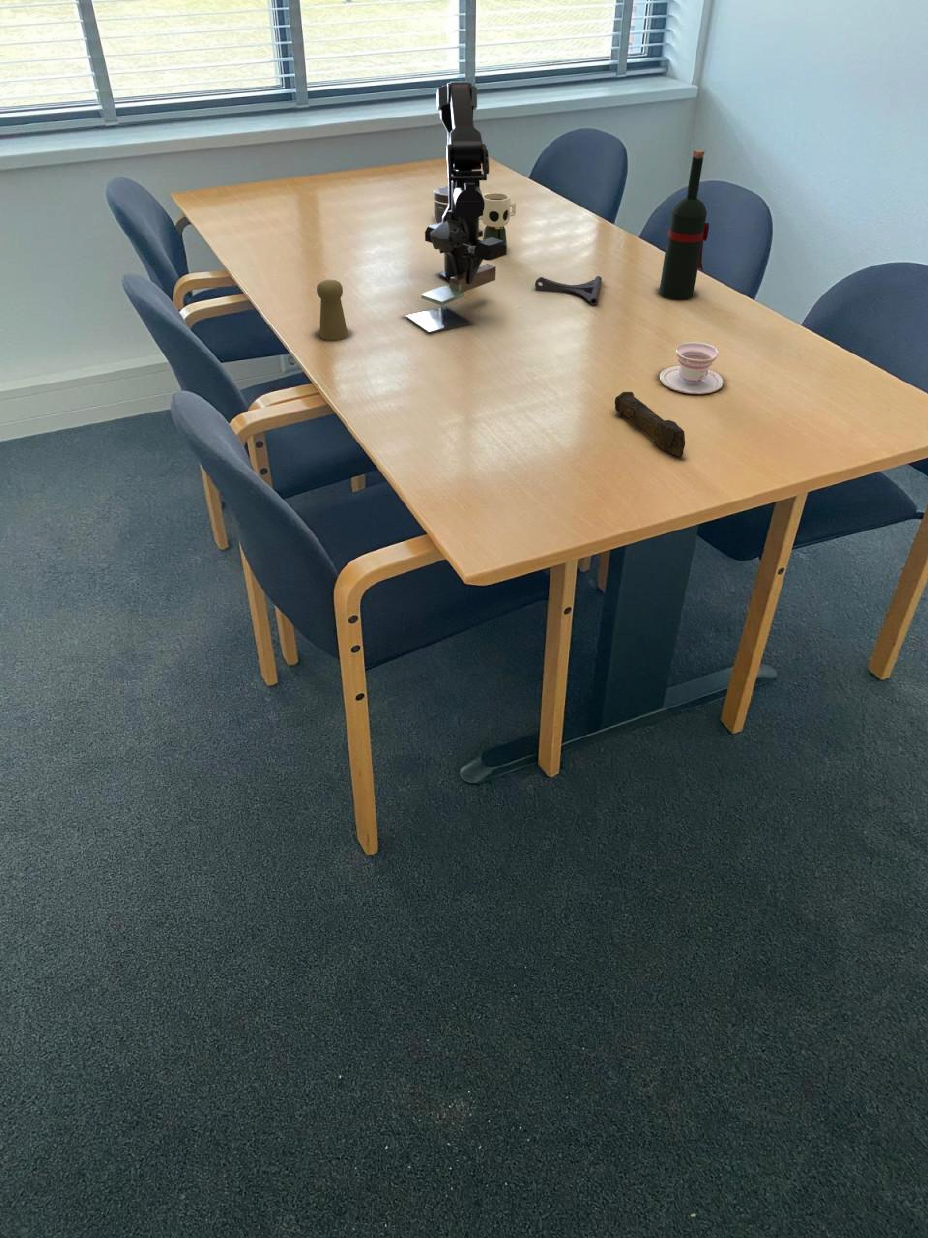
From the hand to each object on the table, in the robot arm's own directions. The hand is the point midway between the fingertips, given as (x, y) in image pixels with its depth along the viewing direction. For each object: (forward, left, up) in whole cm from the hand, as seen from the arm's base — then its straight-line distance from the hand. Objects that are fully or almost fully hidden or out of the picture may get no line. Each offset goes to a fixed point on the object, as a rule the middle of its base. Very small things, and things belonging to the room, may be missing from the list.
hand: (464, 281), depth 197 cm
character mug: (-30, +28, -6) cm, 41 cm away
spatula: (0, -1, -1) cm, 2 cm away
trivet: (+2, -8, -6) cm, 10 cm away
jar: (-57, +32, -6) cm, 66 cm away
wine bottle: (+16, +49, -7) cm, 52 cm away
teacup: (+52, +19, -6) cm, 56 cm away
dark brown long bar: (+64, -1, -7) cm, 64 cm away
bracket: (+2, +27, -7) cm, 28 cm away
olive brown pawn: (-3, -30, -7) cm, 31 cm away
